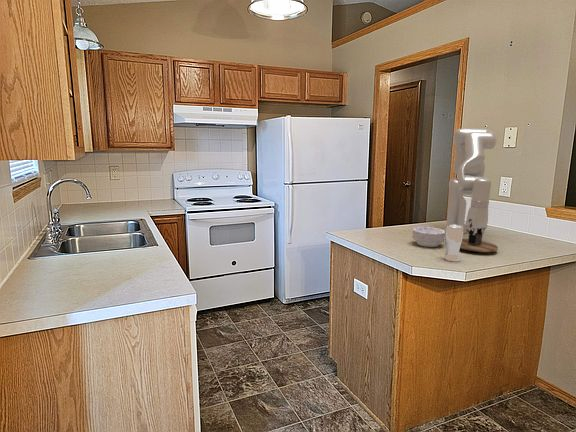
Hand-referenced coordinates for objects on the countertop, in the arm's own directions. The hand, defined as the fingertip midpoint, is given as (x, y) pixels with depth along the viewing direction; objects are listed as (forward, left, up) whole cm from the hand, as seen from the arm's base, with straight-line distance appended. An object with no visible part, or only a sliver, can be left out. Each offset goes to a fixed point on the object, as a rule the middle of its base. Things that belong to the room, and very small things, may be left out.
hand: (474, 241), depth 185 cm
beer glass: (+24, +7, -4) cm, 26 cm away
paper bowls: (+14, -16, -4) cm, 22 cm away
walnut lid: (0, 0, -2) cm, 2 cm away
